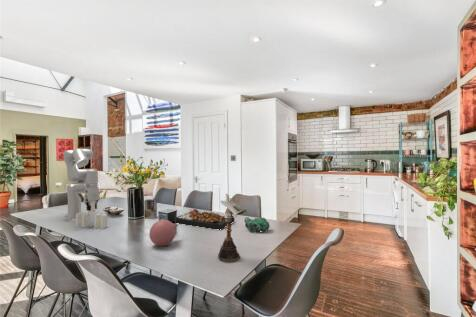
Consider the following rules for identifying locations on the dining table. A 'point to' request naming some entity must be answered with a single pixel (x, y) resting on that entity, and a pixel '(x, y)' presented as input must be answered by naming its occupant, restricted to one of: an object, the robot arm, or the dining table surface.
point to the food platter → (202, 219)
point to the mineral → (256, 224)
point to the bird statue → (228, 248)
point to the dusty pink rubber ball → (162, 232)
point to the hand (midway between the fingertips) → (91, 209)
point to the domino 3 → (92, 207)
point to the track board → (91, 227)
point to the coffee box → (150, 209)
